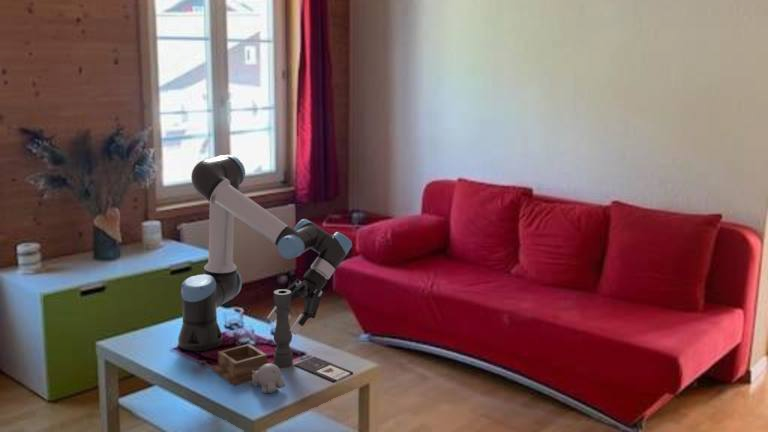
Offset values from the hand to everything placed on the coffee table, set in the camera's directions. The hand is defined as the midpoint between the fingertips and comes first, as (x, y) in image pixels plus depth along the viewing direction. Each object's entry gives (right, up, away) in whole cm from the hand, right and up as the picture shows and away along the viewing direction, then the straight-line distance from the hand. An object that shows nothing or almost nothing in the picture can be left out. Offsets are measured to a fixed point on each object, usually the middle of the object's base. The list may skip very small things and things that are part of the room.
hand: (281, 326), depth 253 cm
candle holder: (0, -13, +4) cm, 14 cm away
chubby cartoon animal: (-3, -18, -14) cm, 23 cm away
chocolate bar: (+14, -15, 0) cm, 20 cm away
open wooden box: (-12, -14, -3) cm, 19 cm away
